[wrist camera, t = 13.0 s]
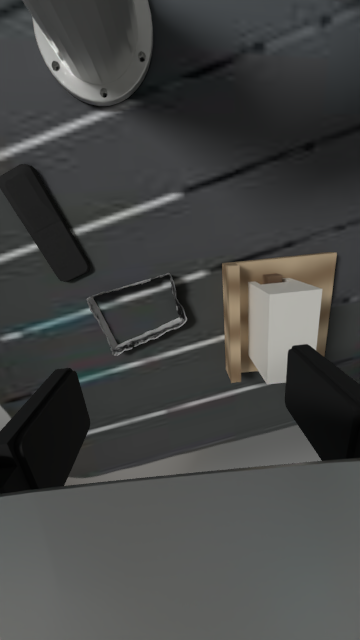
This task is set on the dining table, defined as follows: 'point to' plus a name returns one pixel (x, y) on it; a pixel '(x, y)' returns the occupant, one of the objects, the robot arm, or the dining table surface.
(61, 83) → the robot arm
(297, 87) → the dining table surface
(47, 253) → the remote control
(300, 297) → the light grey block
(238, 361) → the cleat board
